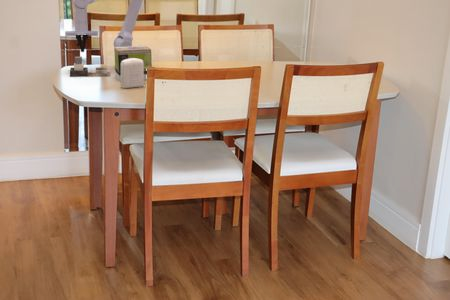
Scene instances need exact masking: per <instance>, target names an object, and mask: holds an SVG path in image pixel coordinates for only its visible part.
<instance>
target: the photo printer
mask: <svg viewBox="0 0 450 300" xmlns="http://www.w3.org/2000/svg"><path fill="white" fill-rule="evenodd" d="M144 82H145V80H144V63H143V60H141V59H137V58H129V59H125V60H123V61H121V81H120V88H122V89H129V88H139V87H144V85H145V83H144Z"/></svg>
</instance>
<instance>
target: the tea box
mask: <svg viewBox="0 0 450 300" xmlns="http://www.w3.org/2000/svg"><path fill="white" fill-rule="evenodd" d="M113 47H114V46H113ZM113 52H114V72H115V77H116V79H117V80H118V81H119V82H121V61H123V60H125V59H129V58H137V59H141V60H143V63H144V81H147V80H146V75H147V71H146V68H147V67H153V66H152V64H153V63H152V62H153V61H152V49H151V48H150V47H149V46H148V45H132V46H127V47H114V51H113Z"/></svg>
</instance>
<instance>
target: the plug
mask: <svg viewBox="0 0 450 300" xmlns="http://www.w3.org/2000/svg"><path fill="white" fill-rule="evenodd" d="M73 68H74V71H75V70H84V62H83V57H82V56H74V63H73Z"/></svg>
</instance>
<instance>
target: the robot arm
mask: <svg viewBox="0 0 450 300" xmlns="http://www.w3.org/2000/svg"><path fill="white" fill-rule="evenodd" d="M97 1H98V0H71V3H72V5H73V8H74V9H73V13H74V14H73V15H74V17H73V18H74V30H71V31H70V30H67V31H64V35H65V37H73V36H75V39H76V41H77V42H78V46H79V48H80V53H85V47H86V43H87V40H88V37H90V36H92V37H93V36H94V37H98V36H99V31H98V30H89V27H88V10H87V9H88V8H87V7H88V5H91V4H92V3H95V2H97ZM142 4H143V0H130V1H129V4H128V7H127V10H126V11H127V12H126V15H125V18H124V21H123V23H122V26H121V27H122V28H121V29H120V31H119V33H117V36H116V37H115V39H114V40H113V47H127V46H133V39H134V38H133V32H134V29H135V26H136V22H137V20H138V16H139V13H140V10H141V7H142Z"/></svg>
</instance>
